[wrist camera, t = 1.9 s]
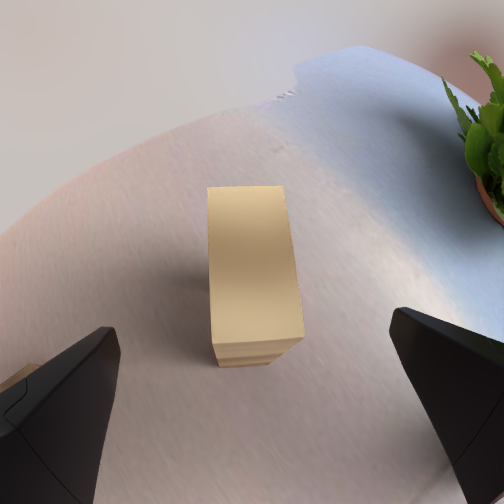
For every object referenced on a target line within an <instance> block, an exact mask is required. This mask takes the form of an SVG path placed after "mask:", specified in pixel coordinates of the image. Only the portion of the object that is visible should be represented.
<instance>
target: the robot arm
mask: <svg viewBox="0 0 504 504" xmlns="http://www.w3.org/2000/svg"><path fill="white" fill-rule="evenodd" d="M389 334H390V337H391V339H392V342H393V344H394V346H395V349H396V351H397V354H398V356H399V358H400V361H401V363H402V366H403V368H404V370H405V372H406V374H407V376H408V378H409V380H410V382H411V384H412V385H413V387H414V389H415V391H416V393H417V395H418V397H419V399H420V401H421V403H422V405H423V407H424V409H425V411H426V413H427V415H428V417H429V419H430V421H431V423H432V425H433V427H434V429H435V431H436V433H437V435H438V437H439V439H440V441H441V443H442V446H443V448H444V450H445V452H446V454H447V456H448V459H449V461H450V463H451V465H452V467H453V470H454V472H455V475H456V477H457V479H458V482H459V484H460V486H461V489H462V491H463V494H464V496H465V498H466V501H467V503H468V504H494V503H496V502H497V501H498V500H500V499H501V498H503V497H504V343H502V342H500V341H497V340H494V339H491V338H487V337H486V336H483V335H481V334H478V333H475V332H472V331H470V330H467V329H464V328H462V327H459V326H456V325H454V324H451V323H448V322H446V321H443V320H440V319H437V318H435V317H432V316H429V315H427V314H424V313H421V312H419V311H416V310H413V309H411V308H408V307H400V308H396V309H395V310H394V312H393V316H392V320H391V324H390V329H389ZM120 356H121V351H120V346H119V343H118V339H117V335H116V331H115V329H114V328H113V327H100V328H98V329H97V330H95V331H94V332H92V333H91V334H89V335H88V336H86V337H85V338H83V339H82V340H80V341H78V342H77V343H75V344H74V345H72V346H71V347H69V348H68V349H66V350H65V351H63V352H62V353H60V354H59V355H57V356H56V357H54V358H53V359H51V360H50V361H48V362H47V363H45V364H44V365H42V366H41V367H39V368H38V369H36V370H35V371H33V372H32V373H30V374H29V375H27V377H24V378H23V379H21V380H20V381H18V382H17V383H15V384H14V385H12V386H11V387H9V388H7V389H6V390H4V391H2V392H1V393H0V504H93V500H94V494H95V488H96V482H97V476H98V471H99V465H100V460H101V455H102V450H103V445H104V441H105V436H106V431H107V427H108V423H109V418H110V414H111V410H112V406H113V402H114V397H115V391H116V384H117V377H118V369H119V363H120Z"/></svg>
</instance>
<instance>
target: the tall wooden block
mask: <svg viewBox="0 0 504 504" xmlns="http://www.w3.org/2000/svg"><path fill="white" fill-rule="evenodd" d="M207 196H208V255H209V286H210V311H211V331H212V345H213V348H214V351H215V354H216V358H217V361H218V364H219V367H220V368H229V367H245V366H258V365H268V364H269V363H271V362H272V361H274V360H275V359H276V358H278V357H279V356H280V355H282V354H283V353H285V352H286V351H287V350H289V349H290V348H291V347H293V346H294V345H295V344H297V343H298V342H299V341H301V340H302V339H303V338H304V337H305V330H304V323H303V315H302V307H301V300H300V293H299V286H298V279H297V272H296V265H295V258H294V252H293V245H292V239H291V232H290V226H289V220H288V214H287V208H286V202H285V196H284V190H283V186H239V187H210V188H207Z"/></svg>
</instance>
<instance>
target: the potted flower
mask: <svg viewBox="0 0 504 504" xmlns="http://www.w3.org/2000/svg"><path fill="white" fill-rule="evenodd" d="M473 53H474V55H472V54H469V55H470V56H471V57H472V58H473V59H474V60H475V61H476V62H477V63H478V64H479V65H480V66H481V67H482V68H483V69H484V71H485V72H486V73H487V74H488V76H489V78H490V79H491V81H492V82H491V83H492V86H493V88H494V91H495V92H491V94H490V96H491V99H490V102H491V103H487V104H486V105H485V106H481V108H480V107H478V109H479V118H480V119H479V118H478V116H477V115H476V113H475V111H474V109H473V108H472V110H471V109H470V108H469V107H468V106H466V108H467V110H468V111H469V113H470V114H471V116H472V117H473V119H474V121H475V122H476V123H472V121H471V120H469V118H468V117H467V115H466V114H465V112H464V110H463V109H462V108H460V107H459V105H458V100H457V97H456V96H453V94H452V91H451V90H450V88H448V87H447V84H446V82H445V81H444V79H443V77H441V78H442V81H443V84H444V87H445V90H446V93H447V96H448V98H449V100H450V102H451V104H452V106H453V107H454V109H455V111H456V113H457V115H458V121H459V124H460V126H461V128H462V130H463V132H464V134H465V136H466V139H465V138H464V137H463V136H462V135H460V134H459V133H458V136H459V137H460V138H461V139H462V140H463V141H464V142H465V146H464V151H465V159H466V163H467V164H468V166H469V168H470V169H471V171H472V172H473V173H474V174H475V175H476V178H475V180H476V184H477V189H478V191H479V193H480V195H481V198H482V200H483V202H484V204H485V206H486V207H487V209H488V210H489V212H490V213H491V214H492V215H493V217H494V218H495V219H497V220H498V221H499V222H500V223H501V224H502V225H503V226H504V77H502V76H501V71H500V70H499V68H498V67H497V65H496V64H494V63H493V61H492V59H491V58H490V57H489V56H486V57H485V60H486V62H485V60H484V59H483V57H482V56H480V55H479V54H478V53H477V52H476V51H473ZM480 120H481V121H480Z"/></svg>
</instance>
